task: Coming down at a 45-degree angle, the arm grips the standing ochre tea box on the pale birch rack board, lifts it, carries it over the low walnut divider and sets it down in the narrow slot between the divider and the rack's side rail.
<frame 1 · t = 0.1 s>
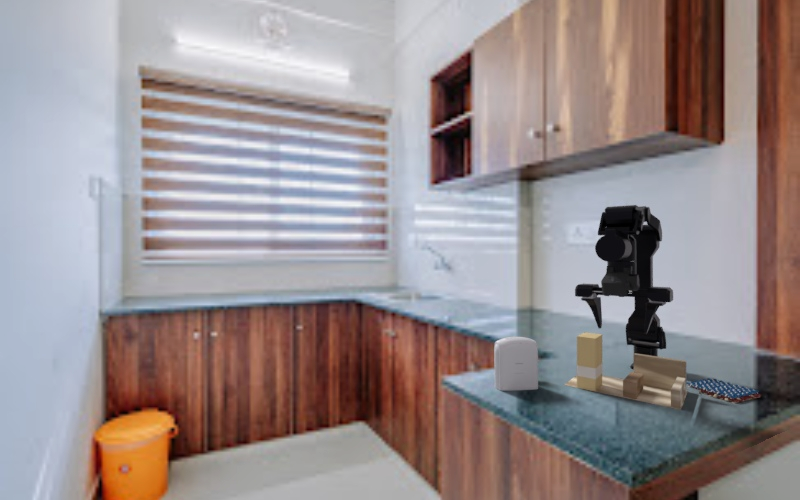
hand: (622, 330, 90), 15 cm above the worktop, tool pointing down, fingers open, 9 cm apart
rack: (624, 390, 93), on the worktop
tea box: (589, 386, 94), point 1 cm above the worktop, touching rack
woven mat: (722, 396, 92), on the worktop
photo printer: (515, 390, 94), on the worktop
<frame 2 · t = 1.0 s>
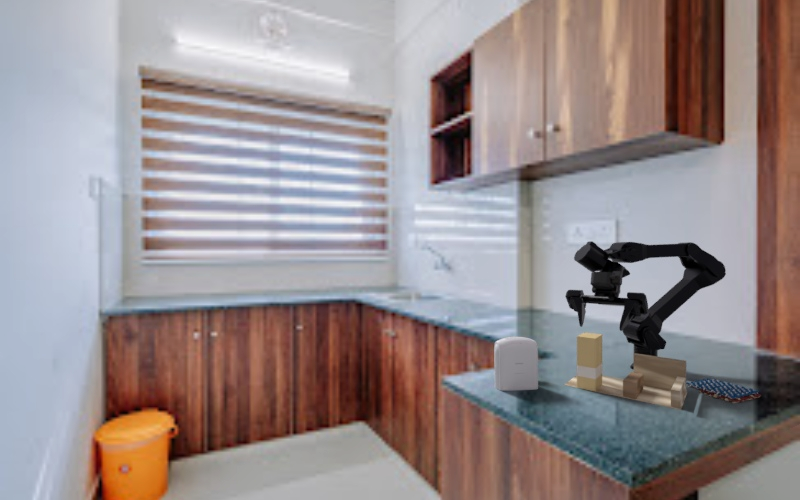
hand: (600, 327, 100), 13 cm above the worktop, tool tilted 45°, fingers open, 9 cm apart
nothing on the worktop moved.
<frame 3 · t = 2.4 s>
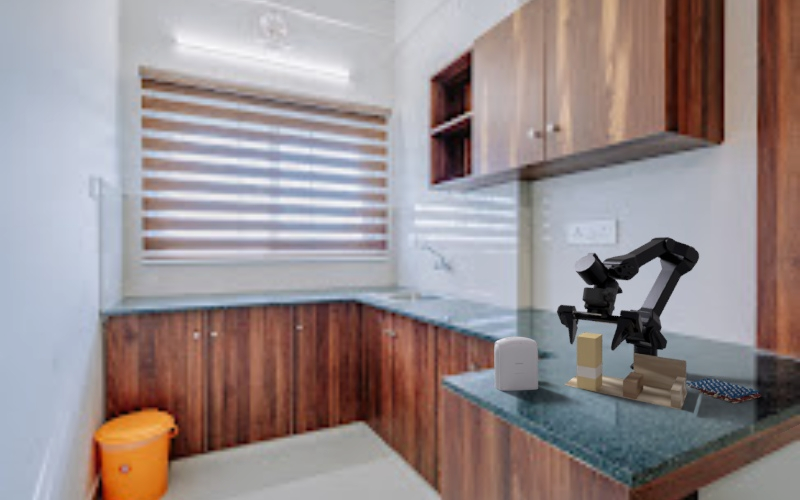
hand: (590, 346, 96), 10 cm above the worktop, tool tilted 45°, fingers open, 9 cm apart
nothing on the worktop moved.
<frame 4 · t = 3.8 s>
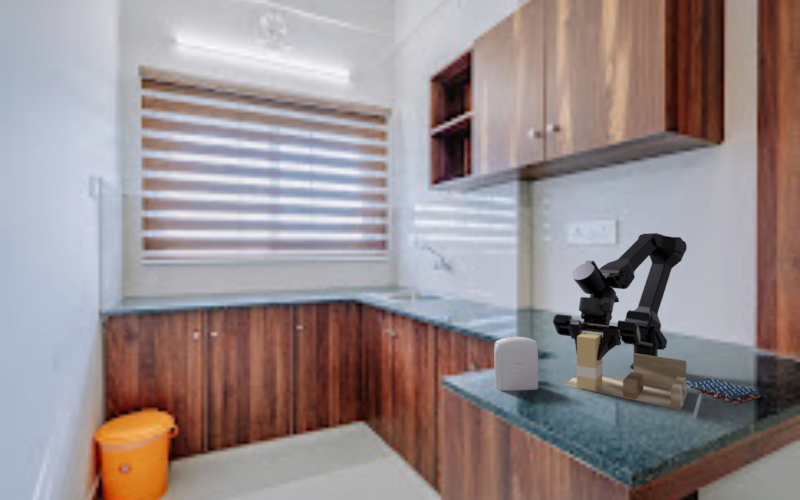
hand: (587, 357, 93), 8 cm above the worktop, tool tilted 45°, fingers closed on tea box, 4 cm apart
tea box: (589, 386, 94), point 1 cm above the worktop, touching gripper, rack
everything else where it was.
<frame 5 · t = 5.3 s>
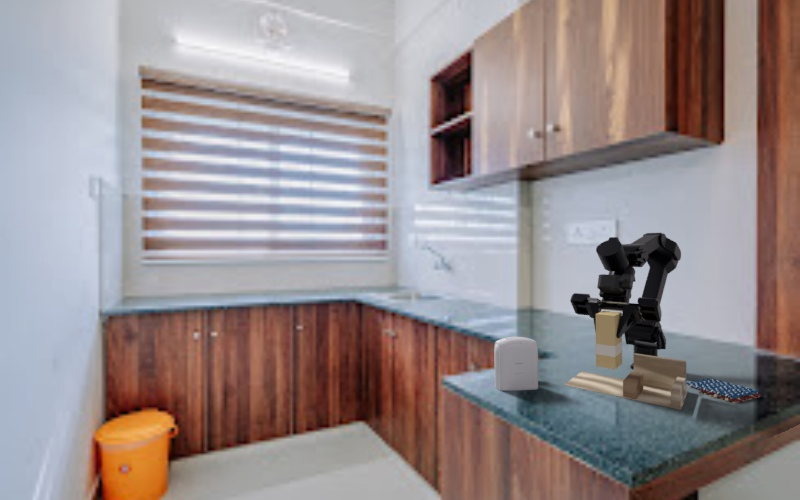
hand: (607, 335, 92), 13 cm above the worktop, tool tilted 45°, fingers closed on tea box, 4 cm apart
tea box: (609, 364, 93), point 6 cm above the worktop, touching gripper
everything else where it was.
when the fingers open (9 cm above the worktop, at t = 7.0 s): tea box drops 1 cm, resting on rack.
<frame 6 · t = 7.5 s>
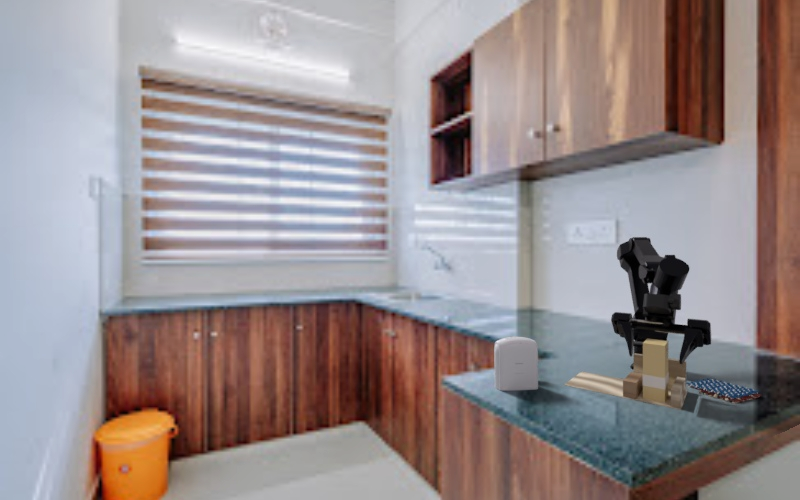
hand: (654, 359, 87), 9 cm above the worktop, tool tilted 45°, fingers open, 9 cm apart
tea box: (655, 396, 88), point 1 cm above the worktop, touching rack
everything else where it was.
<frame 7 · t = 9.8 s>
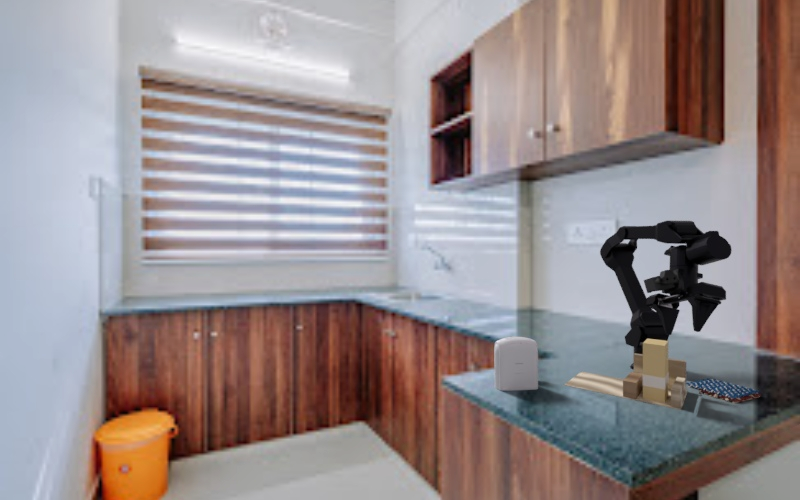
hand: (681, 333, 93), 14 cm above the worktop, tool tilted 20°, fingers open, 9 cm apart
nothing on the worktop moved.
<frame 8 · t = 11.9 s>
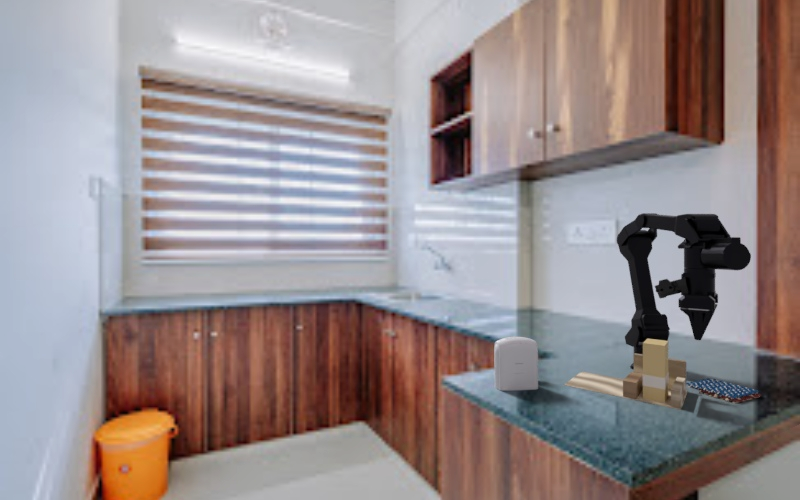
hand: (699, 336, 91), 13 cm above the worktop, tool pointing down, fingers open, 9 cm apart
nothing on the worktop moved.
at the end: tea box inside the target area (0.3 cm from its centre), point 0.6 cm above the worktop; tea box tilted 0°; the gripper is holding nothing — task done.
